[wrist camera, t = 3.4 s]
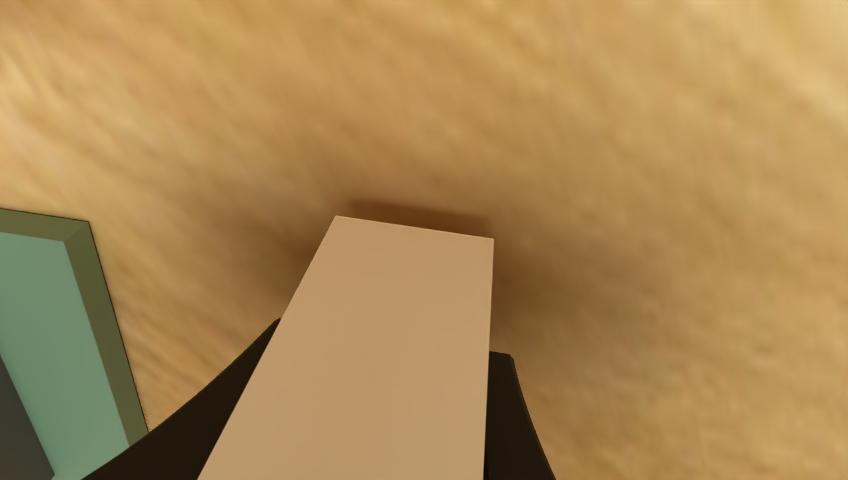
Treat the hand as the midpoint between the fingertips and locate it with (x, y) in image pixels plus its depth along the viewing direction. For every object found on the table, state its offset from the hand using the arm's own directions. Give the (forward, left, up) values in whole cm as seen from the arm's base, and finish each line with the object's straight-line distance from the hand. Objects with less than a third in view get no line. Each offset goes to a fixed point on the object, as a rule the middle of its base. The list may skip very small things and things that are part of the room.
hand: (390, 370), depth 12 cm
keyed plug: (0, 0, -2) cm, 2 cm away
